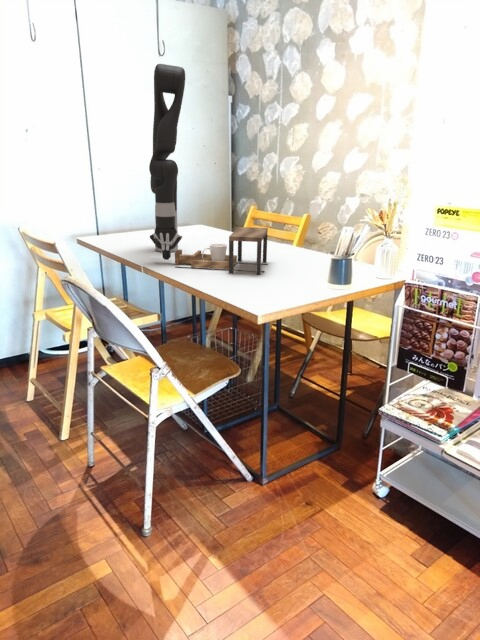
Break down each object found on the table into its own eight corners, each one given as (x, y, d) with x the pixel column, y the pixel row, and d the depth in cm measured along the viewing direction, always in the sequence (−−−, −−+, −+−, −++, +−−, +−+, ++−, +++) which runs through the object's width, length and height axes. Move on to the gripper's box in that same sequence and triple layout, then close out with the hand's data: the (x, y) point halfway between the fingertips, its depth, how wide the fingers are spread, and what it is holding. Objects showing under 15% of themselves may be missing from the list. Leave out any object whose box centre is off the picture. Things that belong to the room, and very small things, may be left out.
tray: (172, 266, 189) (172, 254, 187) (181, 258, 201) (181, 247, 199) (231, 269, 186) (231, 257, 184) (236, 261, 198) (236, 250, 196)
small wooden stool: (228, 273, 182) (229, 236, 177) (238, 260, 202) (238, 226, 198) (260, 275, 180) (261, 237, 176) (266, 261, 201) (267, 228, 196)
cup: (229, 266, 191) (229, 246, 189) (204, 268, 188) (204, 247, 186) (224, 262, 198) (224, 242, 195) (199, 264, 195) (199, 243, 192)
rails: (175, 267, 189) (174, 267, 189) (183, 260, 201) (183, 259, 201) (264, 272, 184) (264, 271, 184) (267, 264, 196) (267, 264, 196)
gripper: (145, 215, 187) (147, 260, 192) (179, 216, 185) (180, 262, 191) (151, 212, 194) (153, 256, 199) (184, 213, 192) (185, 258, 198)
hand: (166, 259), depth 195 cm, fingers closed
